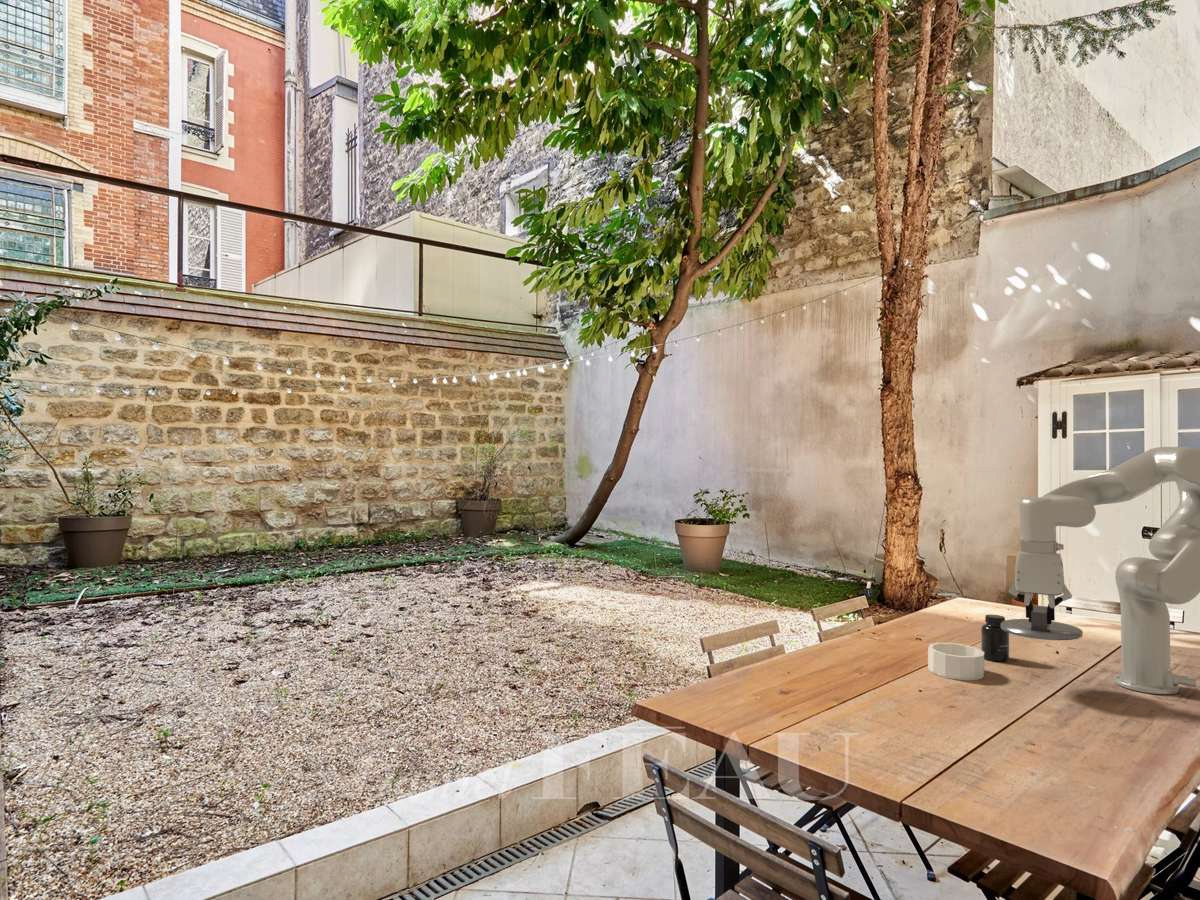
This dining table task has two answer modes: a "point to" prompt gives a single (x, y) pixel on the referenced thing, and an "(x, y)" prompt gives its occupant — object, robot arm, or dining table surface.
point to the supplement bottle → (994, 639)
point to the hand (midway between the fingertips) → (1040, 621)
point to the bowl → (956, 661)
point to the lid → (1041, 627)
